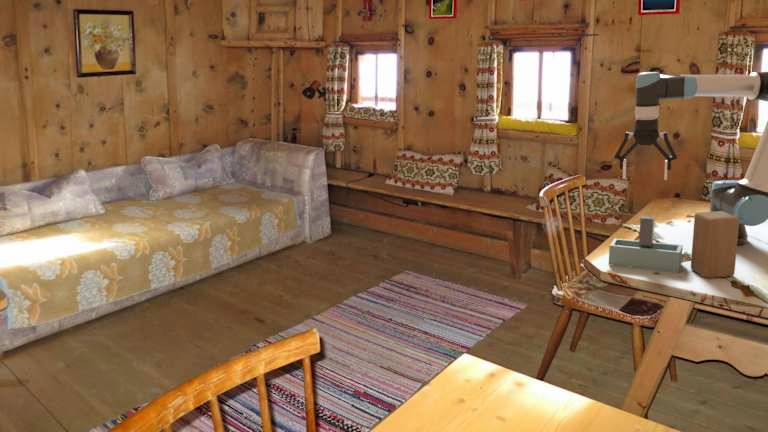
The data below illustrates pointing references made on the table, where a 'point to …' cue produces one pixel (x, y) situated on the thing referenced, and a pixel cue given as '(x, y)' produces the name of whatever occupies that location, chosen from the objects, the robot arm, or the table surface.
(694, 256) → the wooden block
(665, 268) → the grey-green open box
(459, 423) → the table surface
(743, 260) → the table surface
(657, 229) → the table surface
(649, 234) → the brushed steel bar
